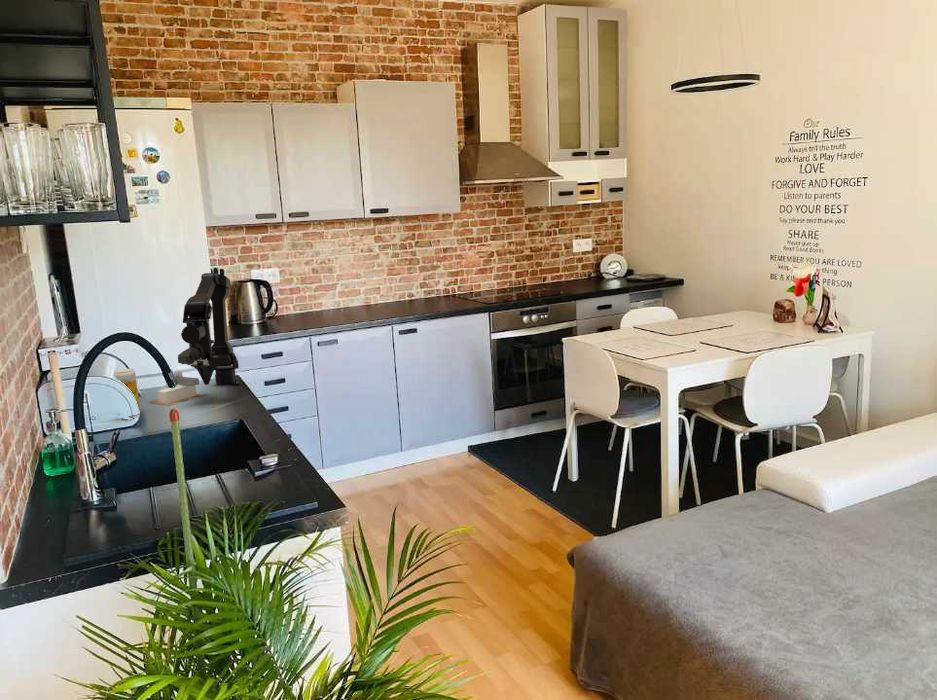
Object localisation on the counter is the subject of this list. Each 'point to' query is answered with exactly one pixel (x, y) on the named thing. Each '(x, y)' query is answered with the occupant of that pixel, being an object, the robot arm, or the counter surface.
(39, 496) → the counter surface
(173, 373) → the bolt bracket
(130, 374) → the beer glass
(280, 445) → the counter surface
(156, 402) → the walnut board
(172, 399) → the block
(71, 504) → the counter surface
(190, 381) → the clamp bar
